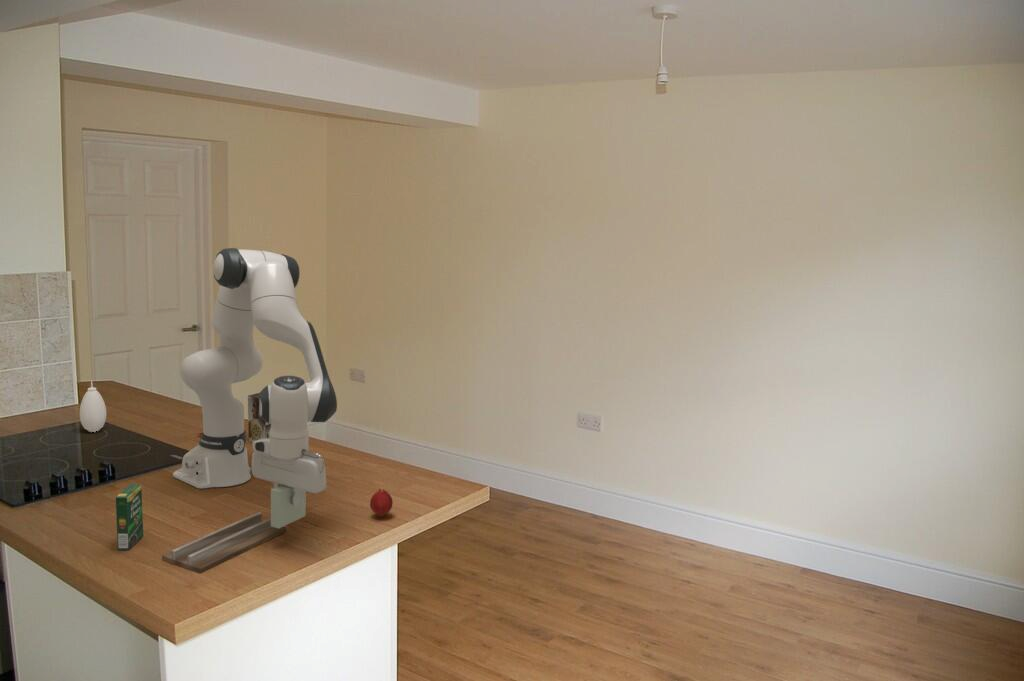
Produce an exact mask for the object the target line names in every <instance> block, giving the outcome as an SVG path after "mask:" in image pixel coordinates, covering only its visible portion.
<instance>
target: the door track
mask: <svg viewBox="0 0 1024 681" xmlns="http://www.w3.org/2000/svg"><path fill="white" fill-rule="evenodd" d="M262 516H263V515H262V512H260V511H258V512H256V513H254V514H251V515H248V516H247V517H245V518H244V517H243V518H242V519H240V520H237V521H235V522H233V523H230V524H228V525H227V526H224V527H221V528H219V529H217V530H215V531H212V532H210V533H207V534H206V535H203V536H202V537H201V536H200V537H199V538H196V539H195V540H191V541H190V542H187V543H185V544H183V545H181V546H179V547H175V548H173V549H172V550H171V551H170V552H167V553H165V554H164V555H161V560H162V561H164V562H167V563H171V565H172V564H173V565H175V566H178V567H182V568H185V569H187V570H191V571H193V572H196V573H200V574H202V573H204V572H206V571H208V570H210V569H212V568H214V567H217V566H219V565H221V564H222V563H224V562H226V561H228V559H229V560H231V559H233V558H235V557H236V556H239V555H240V554H243V553H245V552H247V551H249V550H251V549H252V548H255V547H258V546H259V545H261V544H263V543H265V542H267V541H269V540H271V539H274V538H276V537H277V536H280V535H281V533H282V534H284V533H286V532H287V527H286V526H283V527H281V528H279V529H278V528H275V527H272V526H271V517H269V518H267V519H264V520H262V519H263V517H262ZM285 531H286V532H285ZM283 532H284V533H283ZM279 534H280V535H279ZM234 556H235V557H234ZM232 557H233V558H232Z"/></svg>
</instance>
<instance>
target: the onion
mask: <svg viewBox="0 0 1024 681" xmlns="http://www.w3.org/2000/svg"><path fill="white" fill-rule="evenodd" d="M369 507H370V510H371V511H372V513H374V514H376V515H377V516H378V517H379V518H382V517H384V516H385V515H387V514H388V513H390V511H391V510H392V507H393V498H392V496H391V495H390V494H389V492H388V491H386V490H385V489H384V488H383V487H379V489H378V490H377V491H376V492H375V493H374V494H372V496H371V498H370V502H369Z"/></svg>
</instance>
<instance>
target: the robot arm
mask: <svg viewBox="0 0 1024 681" xmlns="http://www.w3.org/2000/svg"><path fill="white" fill-rule="evenodd" d="M212 268H213V276H214V277H213V278H214V279H215V282H216V283H217V284H218V285H219V288H218V292H217V295H216V298H215V305H214V307H213V308H214V309H213V314H212V317H211V327H212V329H213V331H215V332H216V333H217V335H219V337H220V338H219V340H220V341H219V342H220V343H219V345H218V347H213V348H207V349H203V350H202V349H201V350H198V351H196V352H193V353H192V354H190V355H188V356H186V357H185V358H183V360H182V362H181V365H180V372H179V373H180V378H181V379H182V382H183V383H184V384H185V385H186V386H187V387H188V388H189V389H191V390H192V391H193V392H194V393H195V394H196V396H197V397H198V400H199V403H200V405H201V411H202V412H201V414H202V425H203V426H202V427H203V428H202V430H203V432H200V433H197V434H195V435H196V439H198V438H199V440H198V444H197V445H196V446H194V447H193V448H192V449H191V450H189V451H188V452H186V453H185V454H184V455H183V457H182V460H181V468H179V469H177V470H175V471H174V472H173V473H172V477H173V478H174V479H176V480H179V481H182V482H184V483H186V484H187V485H190V486H192V487H195V488H197V489H208V488H224V487H226V488H227V487H234V486H238V485H241V484H244V483H246V482H249V480H251V478H252V475H253V477H254V478H256V479H260V480H263V481H268V482H271V483H273V488H275V487H278V486H280V485H285V486H289V487H292V488H293V491H294V492H295V494H294V496H293V497H290V504H293V505H298V504H299V503H300V496H301V495H302V493H303V491H306V493H307V492H308V493H311V494H318V493H320V492H322V491H325V489H326V488H327V473H326V467H325V466H326V465H325V460H324V458H323V456H321V455H320V453H318V452H313V451H311V450H309V436H310V435H309V434H310V433H309V428H308V422H309V423H310V422H311V423H326V422H327V421H328V420H330V419H331V418H332V417H333V416H334V415H335V413H337V409H338V398H337V395H336V392H335V388H334V386H333V383H332V381H331V378H330V376H329V372H328V369H327V366H326V362H325V360H324V359H325V358H324V356H323V352H322V349H321V345H320V343H319V338H318V335H317V333H316V331H315V328H314V326H313V324H312V323H311V322H310V321H308V320H306V319H305V318H304V317H303V316H302V314H301V312H300V310H299V308H298V305H297V304H298V303H297V294H296V289H295V288H296V287H297V286H298V283H299V282H300V276H301V275H300V266H299V263H298V262H297V260H296V259H295V258H294V257H292V256H289V255H286V254H284V253H281V254H279V253H276V252H271V251H267V250H259V249H258V250H257V249H256V250H254V249H244V248H243V249H242V248H241V249H238V248H237V247H228V248H222V249H221V250H220V251H219V252H218V253H217V255H216V256H215V258H214V262H213V267H212ZM254 326H255V327H254ZM254 328H256V329H257V330H258V332H260V333H261V334H263V335H264V336H265V337H268V338H270V339H272V340H274V341H278V342H281V343H284V344H287V345H289V346H291V347H294V348H295V349H297V350H299V352H301V354H302V356H303V358H304V362H305V365H306V369H307V372H308V375H309V378H310V381H308V382H306V381H305V380H304V379H303V378H302V377H299V376H296V375H281V376H278V377H276V378H275V379H273V380H272V382H271V384H268V385H266V386H264V388H262V389H261V391H259V392H258V393H259V394H258V395H259V413H258V415H259V417H260V418H261V419H263V420H264V421H265V422H267V423H268V424H269V423H270V424H271V429H270V433H269V437H265V438H262V439H259V440H257V441H254V442H252V445H251V446H252V450H253V452H252V455H251V467H250V466H249V459H248V458H249V456H248V450H247V446H246V444H247V430H246V429H245V406H244V404H243V403H242V401H240V400H239V399H238V398H235V397H234V395H233V393H232V388H231V386H232V384H235V383H240V382H245V381H247V380H248V379H251V378H253V377H254V376H256V375H258V374H259V373H260V371H261V370H262V368H263V356H262V353H261V351H260V350H259V349H258V348H257V346H255V344H254ZM251 473H252V475H251Z"/></svg>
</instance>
